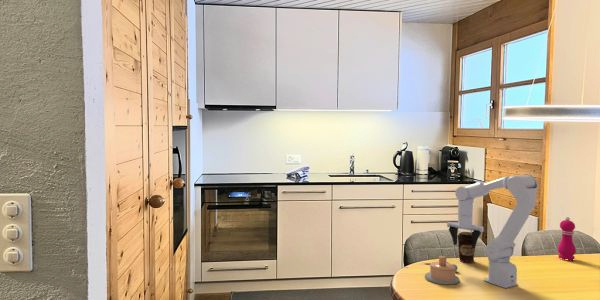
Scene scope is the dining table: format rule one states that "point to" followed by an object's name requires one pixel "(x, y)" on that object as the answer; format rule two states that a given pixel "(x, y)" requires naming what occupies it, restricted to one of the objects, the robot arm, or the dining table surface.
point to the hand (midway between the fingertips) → (464, 246)
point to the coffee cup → (465, 247)
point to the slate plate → (452, 282)
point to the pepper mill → (567, 240)
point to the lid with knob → (442, 270)
